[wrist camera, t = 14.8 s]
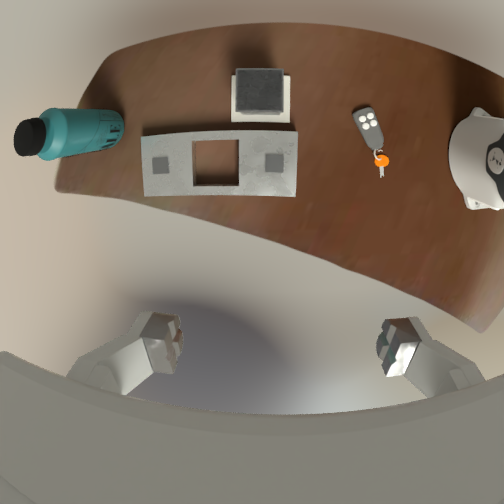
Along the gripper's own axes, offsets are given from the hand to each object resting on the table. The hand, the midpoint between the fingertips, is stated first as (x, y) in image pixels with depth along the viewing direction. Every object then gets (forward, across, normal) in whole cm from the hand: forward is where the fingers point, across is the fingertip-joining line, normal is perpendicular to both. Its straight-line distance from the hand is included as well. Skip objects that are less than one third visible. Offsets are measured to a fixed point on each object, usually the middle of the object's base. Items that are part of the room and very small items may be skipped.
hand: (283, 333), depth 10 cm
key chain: (+32, -15, -6) cm, 36 cm away
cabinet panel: (+31, +8, -4) cm, 32 cm away
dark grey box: (+31, +2, -13) cm, 33 cm away
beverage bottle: (+31, +25, -10) cm, 41 cm away
